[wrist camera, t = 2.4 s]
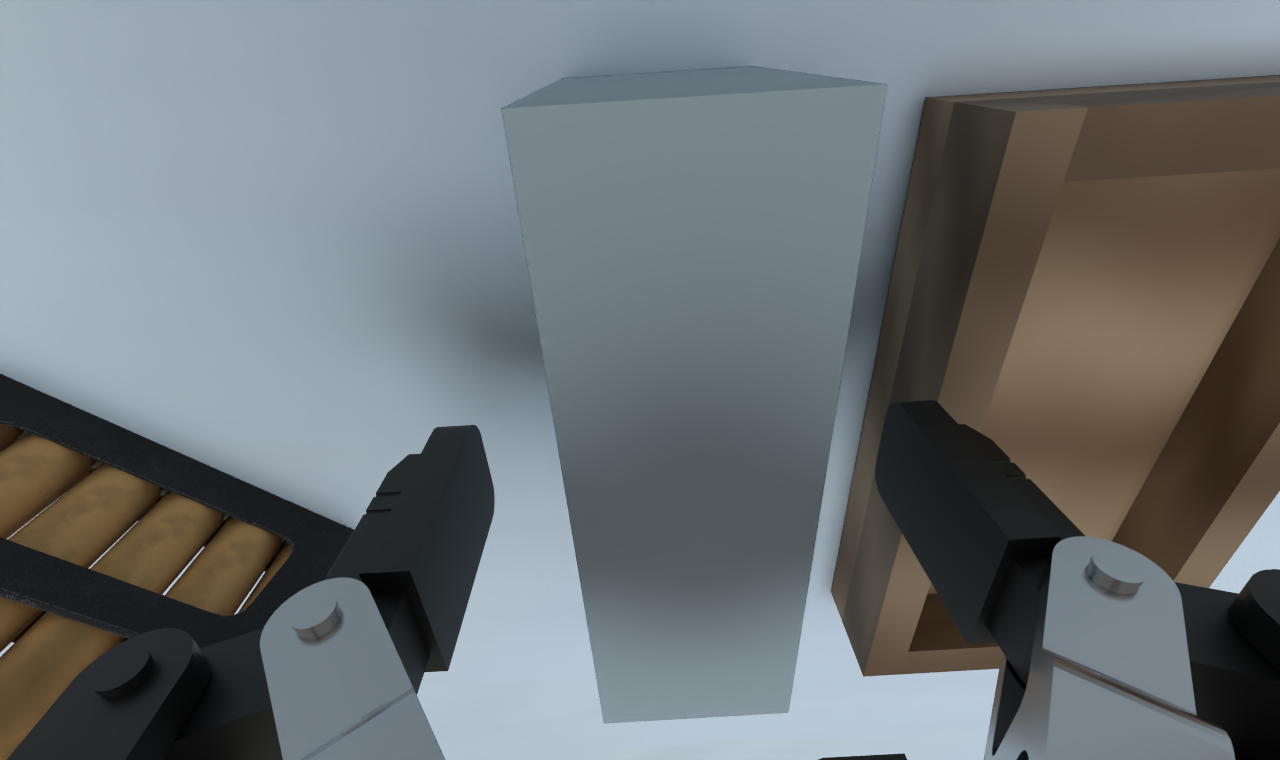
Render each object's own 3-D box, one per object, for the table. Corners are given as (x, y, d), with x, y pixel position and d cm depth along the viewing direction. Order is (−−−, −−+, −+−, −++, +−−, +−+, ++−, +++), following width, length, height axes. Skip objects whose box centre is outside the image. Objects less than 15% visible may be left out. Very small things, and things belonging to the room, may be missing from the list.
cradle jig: (925, 97, 12) (1015, 112, 9) (1361, 70, 12) (1581, 76, 9) (831, 592, 20) (863, 676, 18) (1084, 577, 20) (1156, 659, 18)
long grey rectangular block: (563, 78, 12) (502, 108, 6) (751, 66, 12) (887, 83, 6) (610, 497, 18) (603, 723, 12) (732, 489, 18) (788, 712, 12)
